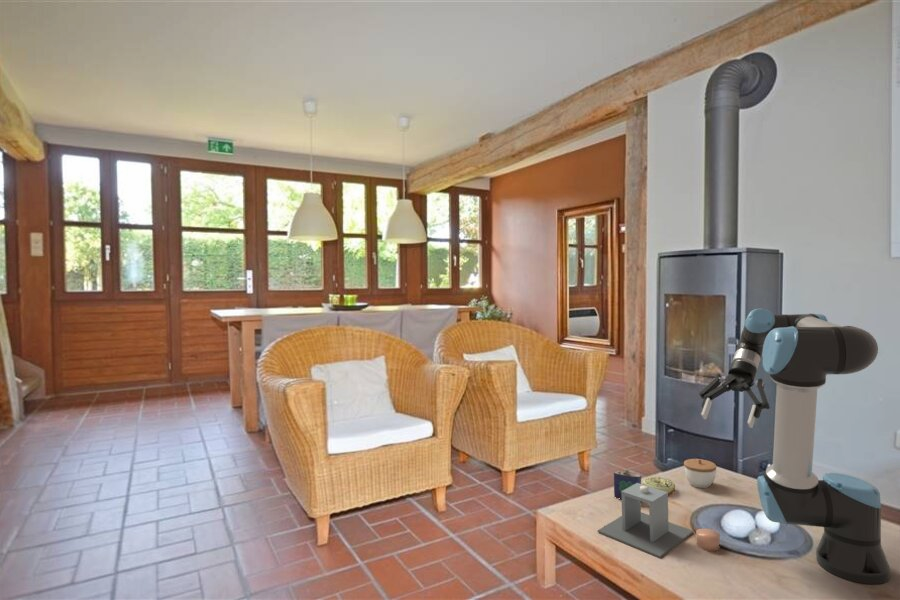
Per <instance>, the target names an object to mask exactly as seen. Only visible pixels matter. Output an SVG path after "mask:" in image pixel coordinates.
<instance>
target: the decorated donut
mask: <svg viewBox="0 0 900 600" xmlns="http://www.w3.org/2000/svg"><path fill="white" fill-rule="evenodd" d="M642 484H643V485H646V486H649V487H652V488H656V489H659V490H662V491H665V492H668V496H670V495H673V493H675V492H676V483H675V482H674V481H672V480H670V479H668V478H665V477H661V476H649V477H646V478H644V479H643V482H642Z"/></svg>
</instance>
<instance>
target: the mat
mask: <svg viewBox="0 0 900 600" xmlns="http://www.w3.org/2000/svg"><path fill="white" fill-rule="evenodd" d="M668 525H669V531H668V532H667V533H665V534H664V535H663V536H661V537H660V538H658V539H657V540H655V541H654V542H652V541H650V516H649V514H647V513H644V512H642V511H641V521H640V522H639V523H637V524H636V525H634V526H632V527H631V528H629V529H628V530H626V531H624V530H622V515H620V516H619V517H618V518H616V519H614V520H612V521H610V522H609V523H607V524H606V525H604V526H602V527H601V528H599V529H598V530H597V533H598V532H599V533H598V534H601V535H603V536H606V537H608V538H609V539H613V540H615V541H617V542H620V543H622V544H625V545H627V546H629V547H632V548H635V549H637V550H639V551H642V552H644V553H647V554H648V555H652V556H653V557H656V558H658V559H661V558H662V557H664V556H665V555H666V554H668V553H669V552H670V551H672V550H673V549H674V548H676V547H677V546H679V544H680V543H682V542H684V541H685V540H686V539H687V538H688V537H690V536H691V535H692V534H694V530H692V529H690V528H687V527H684V526H681V525H679V524H675V523H673V522H671V521H670V522H669V521H668Z"/></svg>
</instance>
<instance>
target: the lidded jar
mask: <svg viewBox="0 0 900 600" xmlns="http://www.w3.org/2000/svg"><path fill="white" fill-rule="evenodd" d="M683 466H684V467H683V468H684V475H685V477H686V480H687V481H688V482H689V483H690V484H691V485H692V486H693V487H695V488H700V489H704V488H705V489H707V488H709V487H710V486H711V485H712V484H713V483H714V482H715V480H716V477H717V465H716V463H714V462H713V461H710V460H707V459H701V458H689V459H686V460H684V461H683Z"/></svg>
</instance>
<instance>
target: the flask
mask: <svg viewBox="0 0 900 600" xmlns="http://www.w3.org/2000/svg"><path fill="white" fill-rule="evenodd" d="M630 470H631V469H629V468H624V471H622V470H617V471H614V472H613V494H614V495H613V496H614V498H615V497H616V498H615V499H617V498H620V499H619V500H621V499H622V495H621V491H623V490H625V489H627V488H628V487H630V486H632V485H634V484H636V483H639V484H642V476H641V474H638V473H630V472H629V471H630Z"/></svg>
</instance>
